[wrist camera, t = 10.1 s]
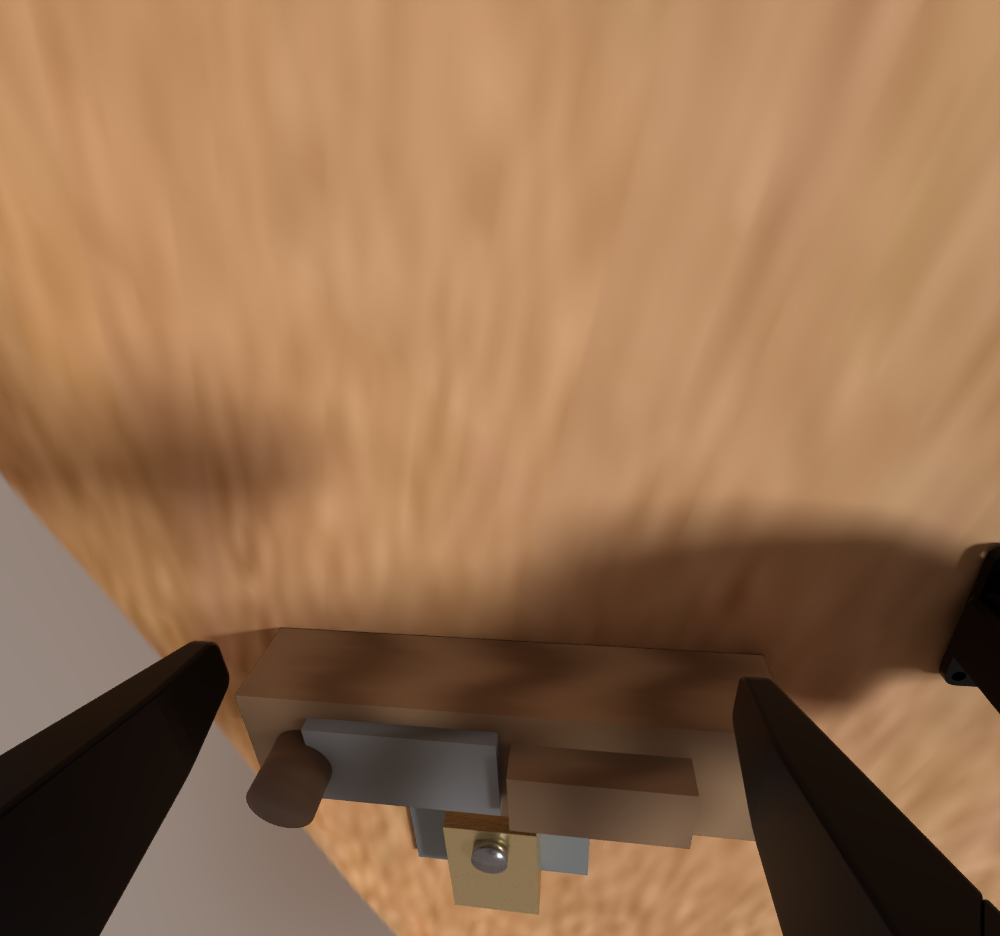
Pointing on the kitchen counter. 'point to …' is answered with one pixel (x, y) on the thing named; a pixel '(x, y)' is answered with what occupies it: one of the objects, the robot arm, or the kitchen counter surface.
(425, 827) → the mat
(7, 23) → the kitchen counter surface
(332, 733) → the plane body
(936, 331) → the kitchen counter surface
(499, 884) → the lever cap
